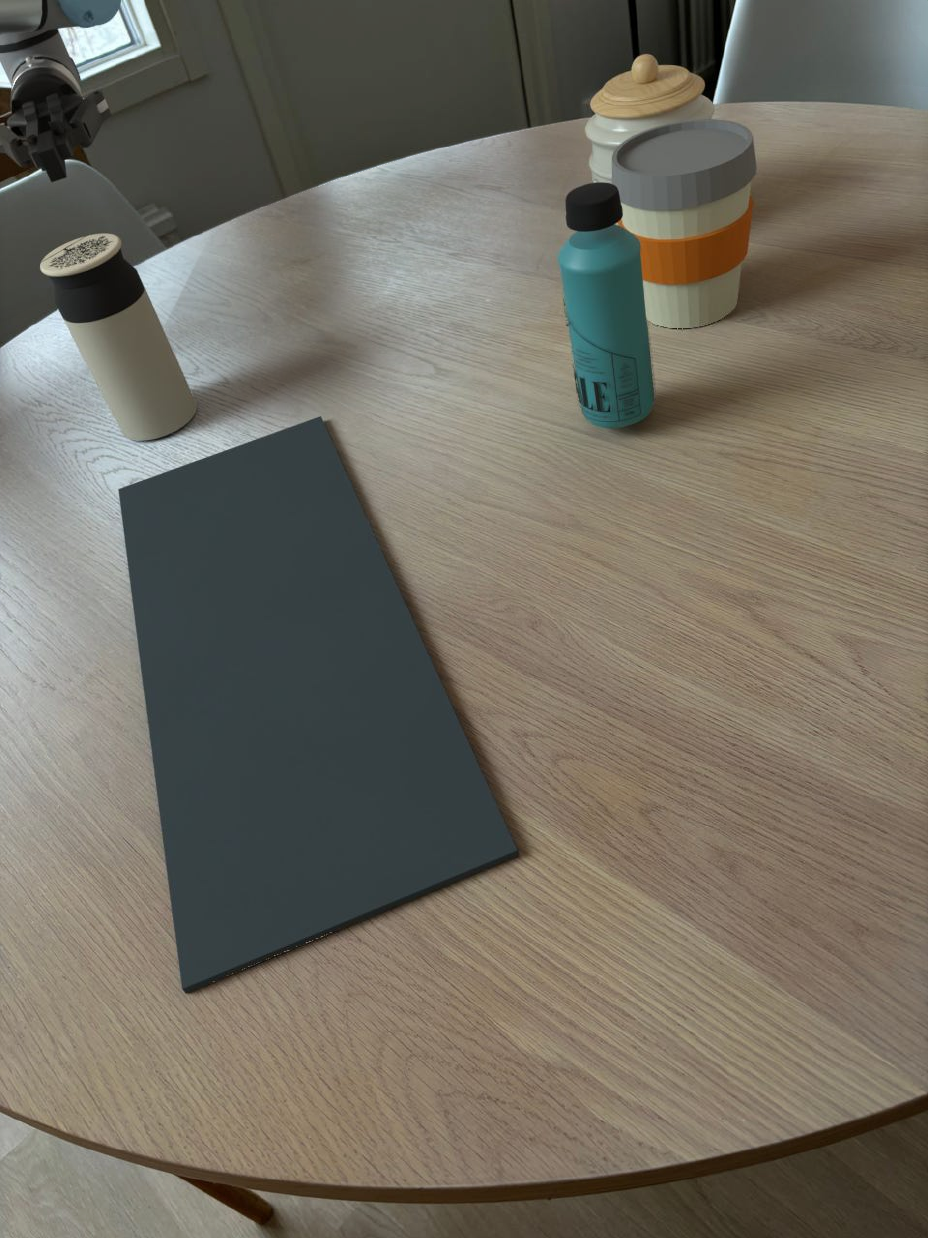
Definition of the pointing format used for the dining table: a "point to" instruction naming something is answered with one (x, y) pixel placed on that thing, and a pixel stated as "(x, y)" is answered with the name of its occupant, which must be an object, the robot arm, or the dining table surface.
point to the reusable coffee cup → (688, 215)
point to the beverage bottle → (606, 309)
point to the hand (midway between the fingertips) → (52, 165)
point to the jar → (641, 108)
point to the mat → (290, 708)
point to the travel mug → (119, 336)
